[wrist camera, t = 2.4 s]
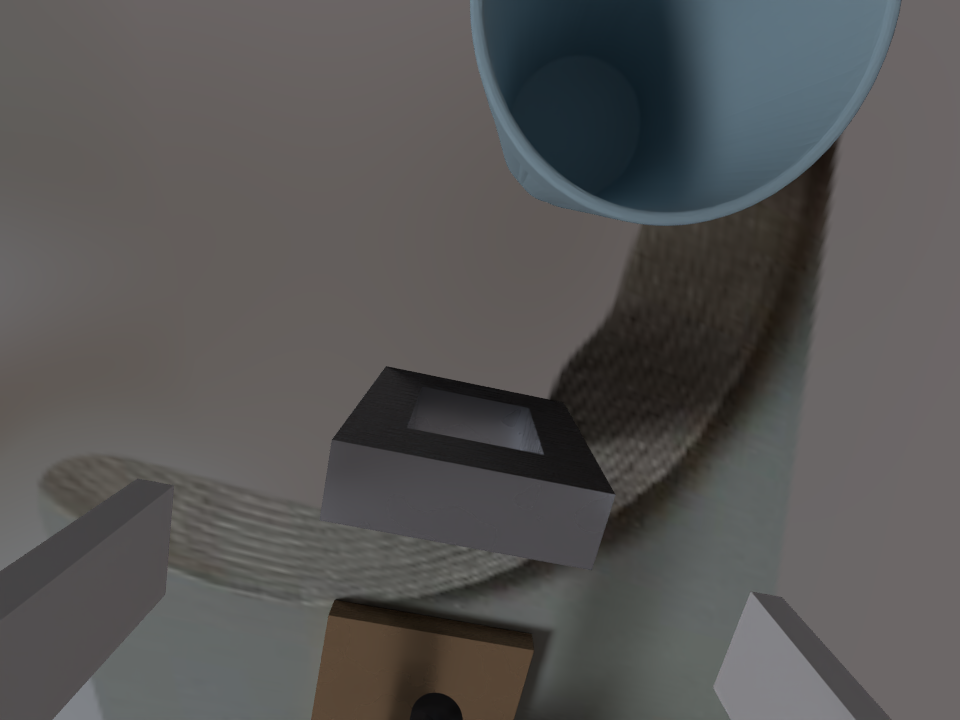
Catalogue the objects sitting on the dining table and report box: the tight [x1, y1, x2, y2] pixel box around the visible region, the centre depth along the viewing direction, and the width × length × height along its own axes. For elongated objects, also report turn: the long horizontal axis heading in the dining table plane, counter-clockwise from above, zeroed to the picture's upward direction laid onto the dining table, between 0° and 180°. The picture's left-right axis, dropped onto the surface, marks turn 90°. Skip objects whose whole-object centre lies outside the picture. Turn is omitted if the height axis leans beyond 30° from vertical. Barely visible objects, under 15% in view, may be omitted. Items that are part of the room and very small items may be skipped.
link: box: [320, 366, 615, 570], centre depth 17 cm, size 2×8×8 cm, turn 78°
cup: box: [470, 0, 901, 226], centre depth 13 cm, size 8×8×10 cm
